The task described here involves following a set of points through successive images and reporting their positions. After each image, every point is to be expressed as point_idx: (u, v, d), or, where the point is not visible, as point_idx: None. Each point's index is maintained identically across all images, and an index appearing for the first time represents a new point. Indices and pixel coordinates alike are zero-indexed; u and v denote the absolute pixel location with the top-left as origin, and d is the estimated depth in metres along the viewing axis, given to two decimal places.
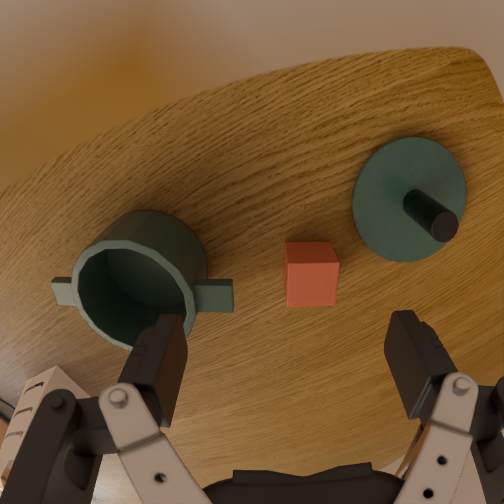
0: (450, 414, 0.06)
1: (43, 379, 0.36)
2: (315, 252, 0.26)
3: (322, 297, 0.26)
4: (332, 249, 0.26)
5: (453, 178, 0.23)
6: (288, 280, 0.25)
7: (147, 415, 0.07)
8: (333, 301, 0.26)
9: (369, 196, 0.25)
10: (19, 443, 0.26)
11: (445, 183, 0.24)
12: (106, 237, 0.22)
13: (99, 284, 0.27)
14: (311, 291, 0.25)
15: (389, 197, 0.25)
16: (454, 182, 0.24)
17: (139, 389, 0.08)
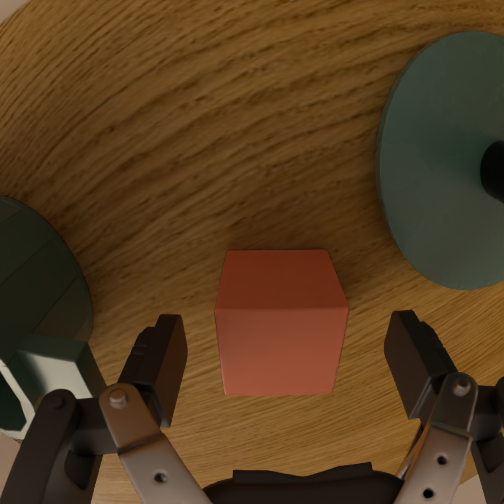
0: (450, 414, 0.06)
1: None
2: (289, 276, 0.11)
3: (304, 379, 0.11)
4: (331, 269, 0.11)
5: None
6: (220, 347, 0.10)
7: (147, 415, 0.07)
8: (329, 386, 0.11)
9: (415, 146, 0.10)
10: None
11: None
12: None
13: None
14: (279, 369, 0.10)
15: (456, 152, 0.10)
16: None
17: (139, 389, 0.08)
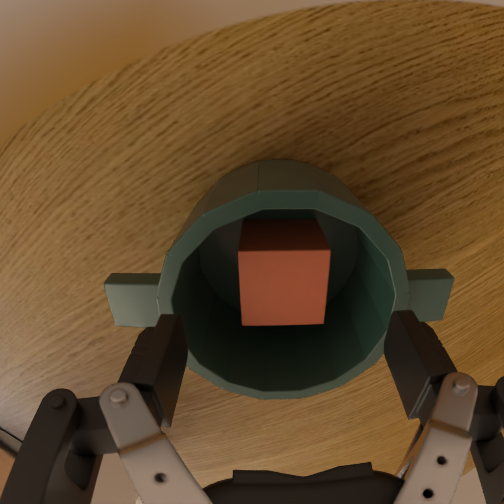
0: (449, 414, 0.06)
1: None
2: (289, 233, 0.15)
3: (301, 310, 0.15)
4: (319, 229, 0.16)
5: None
6: (240, 281, 0.14)
7: (147, 415, 0.07)
8: (321, 317, 0.15)
9: None
10: None
11: None
12: (261, 186, 0.11)
13: (192, 286, 0.17)
14: (282, 300, 0.15)
15: None
16: None
17: (139, 389, 0.08)
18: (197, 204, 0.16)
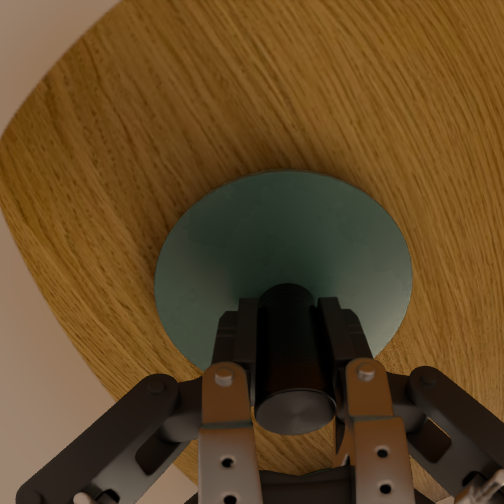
0: (344, 397, 0.07)
1: None
2: None
3: None
4: None
5: (222, 222, 0.12)
6: None
7: (245, 400, 0.08)
8: None
9: None
10: None
11: (237, 243, 0.12)
12: None
13: None
14: None
15: None
16: (231, 219, 0.12)
17: None
18: None
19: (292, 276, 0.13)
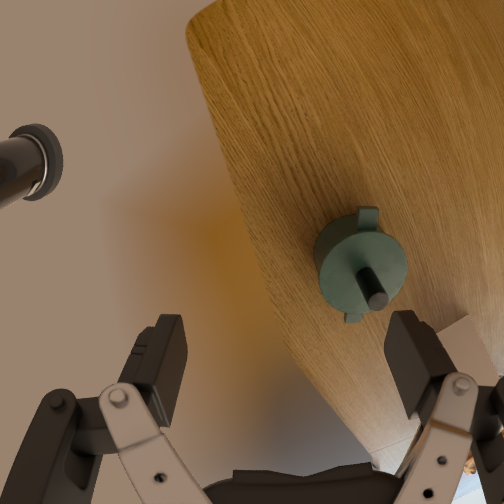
0: (450, 414, 0.06)
1: None
2: None
3: None
4: None
5: (349, 247, 0.35)
6: None
7: (147, 415, 0.07)
8: None
9: (357, 305, 0.39)
10: None
11: (352, 253, 0.36)
12: None
13: None
14: None
15: (359, 293, 0.38)
16: (352, 246, 0.35)
17: (139, 389, 0.08)
18: None
19: (368, 264, 0.36)
